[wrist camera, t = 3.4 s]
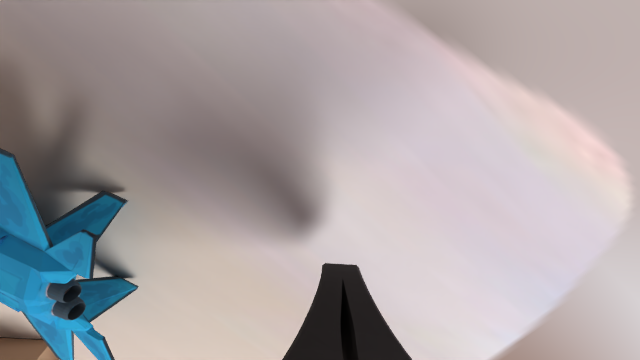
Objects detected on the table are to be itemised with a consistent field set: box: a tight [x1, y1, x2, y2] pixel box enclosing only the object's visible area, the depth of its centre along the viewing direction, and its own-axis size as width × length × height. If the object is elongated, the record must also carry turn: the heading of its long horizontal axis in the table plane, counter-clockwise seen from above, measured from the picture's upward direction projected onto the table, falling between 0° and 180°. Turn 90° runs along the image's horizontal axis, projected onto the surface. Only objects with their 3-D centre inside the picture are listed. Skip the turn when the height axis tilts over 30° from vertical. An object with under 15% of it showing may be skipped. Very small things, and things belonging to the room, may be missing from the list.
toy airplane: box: [0, 149, 138, 360], centre depth 14 cm, size 12×10×4 cm
